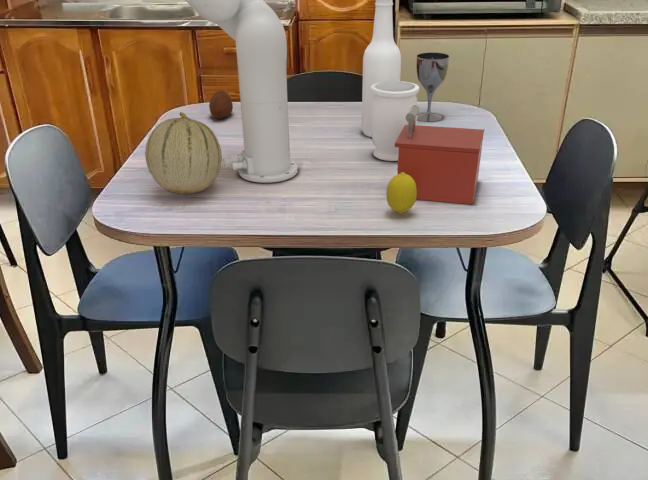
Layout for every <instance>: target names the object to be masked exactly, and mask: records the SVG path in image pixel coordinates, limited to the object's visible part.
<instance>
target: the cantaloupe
mask: <svg viewBox="0 0 648 480" xmlns="http://www.w3.org/2000/svg"><path fill="white" fill-rule="evenodd" d="M179 116H180V117H173V118H167V119H164V120H163V121H161V122H159V123H158V125H156V126H155V127H154V129H153V130H152V131H151V133H150V134H149V136H148V139H147V141H146V144H145V152H144V156H145V157H144V158H145V162H146V167H147V169H148V170H147V171H148V172H149V174H150V175H151V177H152V178H153V180H154V181H155V182H156V183H157V184H158V185H159V186H160V187H162V188H163V189H165V190H166V191H168V192H171V193H174V194H179V195H190V194H197V193H200V192H203V191H204V190H206V189H208V188H209V187H210V186H211V185H212V184H213V183H214V181H216V179H217V177H218V175H219V173H220V170H221V166H222V163H223V154H222V148H221V144H220V142H219V140H218V137H217V135H216V134H215V133H214V131H213V130H212V129H211V128H210V127H209V126H207V124H205V123H203V122H201V121H199V120H197V119H193V118H190V117H188V116H187V115H186V114H185V113H184V112H183V111H180V112H179Z"/></svg>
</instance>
